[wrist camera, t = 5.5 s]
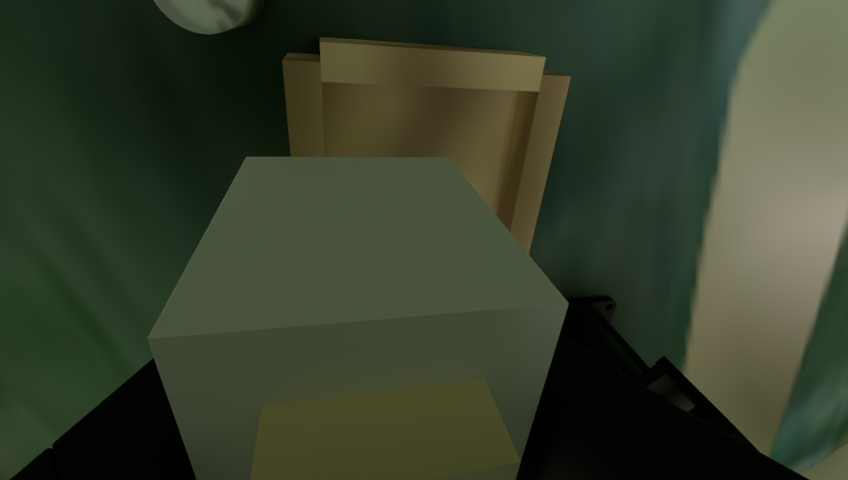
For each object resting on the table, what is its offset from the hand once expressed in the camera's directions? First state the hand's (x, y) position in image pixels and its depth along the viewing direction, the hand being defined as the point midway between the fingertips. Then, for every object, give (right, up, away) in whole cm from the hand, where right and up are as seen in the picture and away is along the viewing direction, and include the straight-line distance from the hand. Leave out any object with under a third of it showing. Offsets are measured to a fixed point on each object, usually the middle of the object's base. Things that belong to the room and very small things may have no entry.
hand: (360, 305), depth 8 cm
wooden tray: (+1, +4, +11) cm, 11 cm away
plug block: (0, +1, +1) cm, 2 cm away
